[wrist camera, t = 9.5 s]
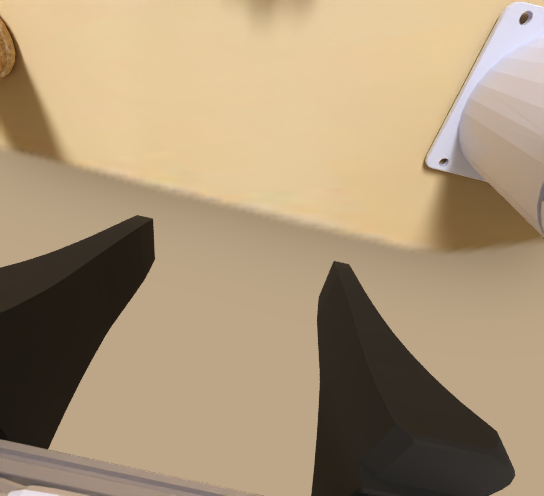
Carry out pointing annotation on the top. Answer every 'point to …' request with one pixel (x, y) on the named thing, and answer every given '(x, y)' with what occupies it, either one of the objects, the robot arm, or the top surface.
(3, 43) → the sprinkles bottle
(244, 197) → the top surface
